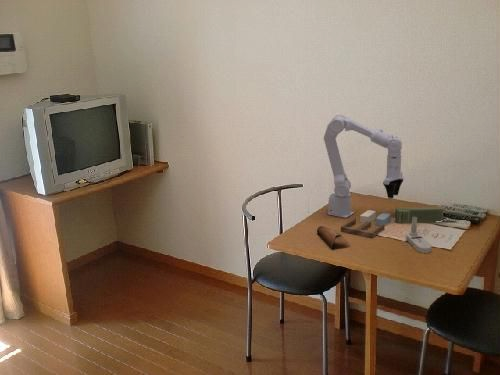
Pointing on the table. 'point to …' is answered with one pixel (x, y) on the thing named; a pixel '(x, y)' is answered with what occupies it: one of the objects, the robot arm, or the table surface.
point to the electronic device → (417, 239)
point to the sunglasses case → (332, 238)
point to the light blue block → (383, 219)
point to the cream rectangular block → (368, 216)
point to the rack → (361, 229)
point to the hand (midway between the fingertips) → (392, 196)
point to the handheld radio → (419, 214)
